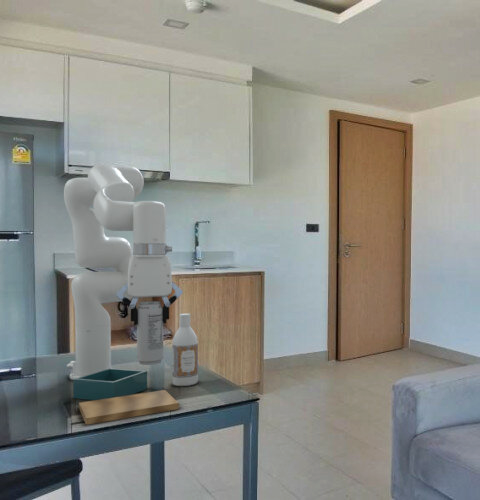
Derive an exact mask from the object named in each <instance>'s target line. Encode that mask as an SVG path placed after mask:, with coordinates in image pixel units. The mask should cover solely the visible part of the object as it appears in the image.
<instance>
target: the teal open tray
mask: <svg viewBox="0 0 480 500" xmlns="http://www.w3.org/2000/svg"><path fill="white" fill-rule="evenodd" d="M113 368H114V367H111V368H108V369H105V370H102V371H99V372H95V373H92V374H89V375H85V376H82V377H79V378H75V379H73V380H72V381H73V383H72V385H73V387H72V388H73V390H72V391H73V393H72V394H73V397H72V398H73V399H77V400H78V399H79V400H88V401H94V400H101V399H107V398H114V397H121V396H128V395H134V394H139V393H140V392H141V393H142V392H143V391H146V390H148V370H139V369H128V368H127V369H126V368H114V369H113Z"/></svg>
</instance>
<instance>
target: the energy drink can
mask: <svg viewBox="0 0 480 500" xmlns="http://www.w3.org/2000/svg"><path fill="white" fill-rule="evenodd" d="M161 303H162V302H161V301H140V302H139V305H138V307H137V324H136V360H137V362H139V364H140V365H142V366H152V365H158V364H161V362H162V360H163V359H164V323H163V306H162V304H161Z"/></svg>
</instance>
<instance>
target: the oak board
mask: <svg viewBox="0 0 480 500" xmlns="http://www.w3.org/2000/svg"><path fill="white" fill-rule="evenodd" d="M179 409H180V402H179V401H177V399H175V398H174V397H173V396H172V395H171V394H170V393H169V392H168V391H167V390H165V389H161V390H156V391H155V390H154V391H149V392H148V391H147V392H141V393H136V394H133V395H128V396H121V397H114V398H107V399H101V400H88V401H82V402H78V410H79V412H80V414H81V417H82V419H83V422H84V423H85V425H86V426H87V425H93V424H100V423H105V422H111V421H117V420H123V419H128V418H135V417H140V416H146V415H152V414H157V413H162V412H169V411H174V410H179Z"/></svg>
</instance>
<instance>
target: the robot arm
mask: <svg viewBox="0 0 480 500" xmlns="http://www.w3.org/2000/svg"><path fill="white" fill-rule="evenodd" d="M144 180H145V179H144V176H143V174H142V172H141V171H140V169H138V168H137V167H135V166H130V165H119V164H111V163H99V164H96V165H94V166H92V167H91V168H90V169H89V171H88V173H87V177H73V178H70V179H69V180H67V181H66V182H65V185H64V188H63V201H64V205H65V208H66V211H67V213H68V216H69V219H70V221H71V224H72V225H71V226H72V237H73V238H72V239H73V248H74V259H75V262H76V264H77V265H78V266H79V267H80V268H86V269H97V268H98V269H99V268H102V269H103V268H113V269H114V271H105V270H103V271H86V272H81V273H79V274H76V275H75V276H74V277H73V278H72V280H71V287H70V288H71V294H72V300H73V307H74V327H75V328H74V330H75V331H74V333H75V334H74V335H75V337H74V338H75V347H74V348H75V351H74V352H75V353H74V354H75V360H71V361H70V362H69V363H67V364H66V369H72V372H71V373H70V374H69V379H70V380H72V381H73V379H75V378H79V377H82V376H85V375H89V374H92V373H95V372H99V371H102V370H105V369H108V368H113V369H115V368H114V367H112V323H111V322H112V321H111V319H112V318H111V315H110V313H109V312H108V310H106V309H105V308H104V307H105V306H103V305H102V304H106V303H116V302H117V303H119V302H123V303H124V305H126V306H127V307H128V308H129V309H130V322H133V326H137V309H138V307H137V303H138V300H139V298H151V297H152V298H156V297H157V298H159V297H161V299H162V302H163V306H162V308H163V324H167V320H170V307H171V306H172V305H173V304H174V302H176V301H177V300H178V299H179V297H181V296H182V295H183V293H184V291H183V290H182V289H181V287H179V286H178V285H177V284H176V283H175V282H174V281H173V276H172V266H171V259H170V256H167V254H168V253H171V252H173V246H169V245H168V244H167V208H166V205H165V204H164V202H161V201H156V200H140V201H134V200H135V199H136V198H137V197H138V196H139V195H140V194H141V193H142V191H143V189H144V184H145V181H144ZM105 230H107V231H111V232H112V231H113V232H132V237H133V238H132V245H131V243H130V242H129V240H127V238H124V237H120V236H106V234H105V233H106V232H105ZM172 291H175V292H174V293H173V295H171V294H172ZM170 295H171V297H168V296H170Z"/></svg>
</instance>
